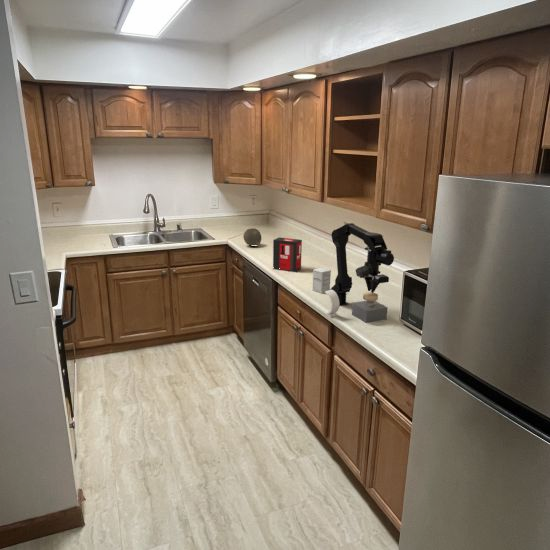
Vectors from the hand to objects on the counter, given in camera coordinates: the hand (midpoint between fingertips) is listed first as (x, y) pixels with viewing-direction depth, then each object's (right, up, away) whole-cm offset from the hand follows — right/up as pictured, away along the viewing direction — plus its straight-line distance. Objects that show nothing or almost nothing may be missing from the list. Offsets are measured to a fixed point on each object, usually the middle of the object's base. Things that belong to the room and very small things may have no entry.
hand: (370, 291), depth 215 cm
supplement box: (-20, -1, +42) cm, 46 cm away
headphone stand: (-18, -12, +5) cm, 23 cm away
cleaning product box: (-38, +12, +84) cm, 93 cm away
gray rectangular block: (0, -12, +4) cm, 13 cm away
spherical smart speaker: (-64, +31, +145) cm, 162 cm away
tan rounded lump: (0, -7, +2) cm, 7 cm away
